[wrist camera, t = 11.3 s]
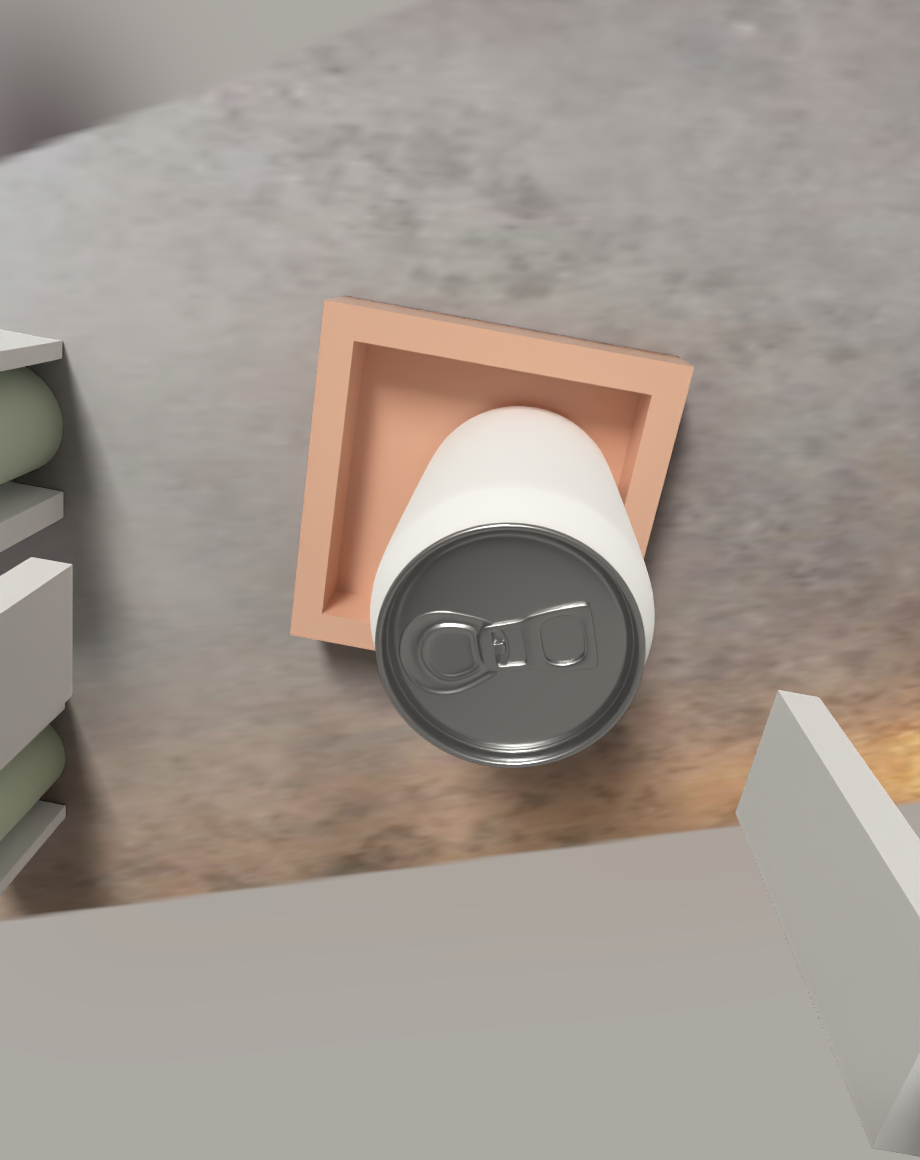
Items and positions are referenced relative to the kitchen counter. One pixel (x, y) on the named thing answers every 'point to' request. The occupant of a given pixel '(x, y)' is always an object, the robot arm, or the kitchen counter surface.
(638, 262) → the kitchen counter surface
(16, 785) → the peg
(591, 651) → the can
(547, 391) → the tray
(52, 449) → the green piece
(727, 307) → the kitchen counter surface
